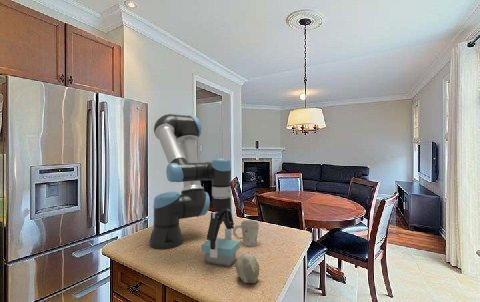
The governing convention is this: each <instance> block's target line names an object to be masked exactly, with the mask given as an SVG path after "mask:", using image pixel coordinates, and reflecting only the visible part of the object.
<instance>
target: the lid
mask: <svg viewBox="0 0 480 302" xmlns="http://www.w3.org/2000/svg"><path fill="white" fill-rule="evenodd" d="M216 240H217V255H223V256H229V257H232V256H233V255H234V253H235V252H236V253H237V251H239V249H240V248H241V241H240V240H236V239H232V240H229V239H225V238H221V237H217V238H216ZM201 252H203V253H205V254H206V253H210V240H207V239H206V241H205V242H204V243H202V244H201Z"/></svg>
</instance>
